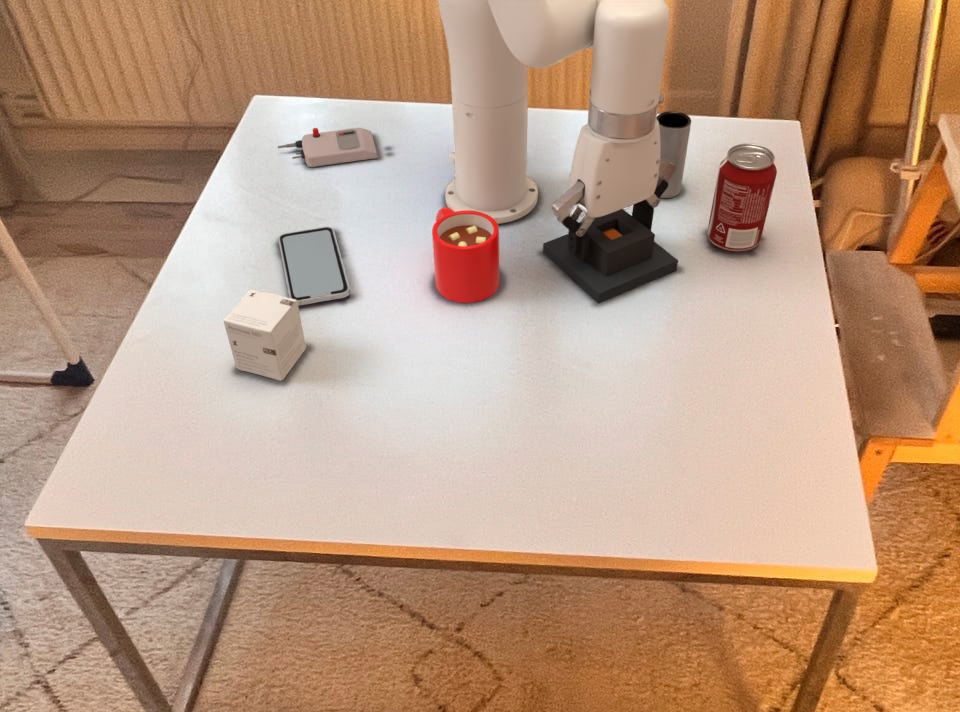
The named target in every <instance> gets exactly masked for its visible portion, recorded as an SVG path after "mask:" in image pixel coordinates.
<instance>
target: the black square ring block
mask: <svg viewBox="0 0 960 712" xmlns="http://www.w3.org/2000/svg"><path fill="white" fill-rule="evenodd" d="M578 222H579V221H578ZM580 222H581V221H580ZM580 222H579V223H580ZM612 228H614V229H615V230H616V231H618V232H619V233H620V234H621V235H623V236H621V237H618V238H616V239H613V240H611V239H610V238H609V237H607V236H606V235H605V234H604V233H602V232H604V231H607V230H609V229H612ZM586 232H587V233H588V234H589V247H588V259H587V261H589V262H590V263H591V264H592V265H593V266H594V267H595V268H597V269H598V270H599V271H600V272H601V273H602V274H604V275H605V276H606V277H607V276H609V275H612V274H614V273H616V272H619V271H621V270H624V269H626V268H628V267H631V266H633V265H636V264H638V263H640V262H642V261H645V260H647V259H650V258H652V252H653V245H654V242H655V238H656V237H655V236H656V235H655V233H654V232H653V231H652V230H651V231H650V230H649V229H648V228H646V227H645V226H644V225H643V224H641V223H640V222H639V221H637V220H636V219H635V218H634V217H632V214H630V213H629V212H627V211H626V210H625V209H624V208H623V209H620V210H618V211H615V212H613V213H610V214H607V215H604V216H601V217H597V218H595V219H594V220H593V222H592V223H591V225H590V226H589V228H588V229H587V231H586Z"/></svg>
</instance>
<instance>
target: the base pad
mask: <svg viewBox="0 0 960 712" xmlns="http://www.w3.org/2000/svg"><path fill="white" fill-rule="evenodd" d="M602 233H604V234H605V235H606V236H607V237H609V238H610V239H611V240H613V239H616V238H618V237H621V236H623V235H621V234H620V233H619V232H618V231H616V230H615V229H614V228H612V229H609V230H607V231H604V232H602ZM542 254H543V255H544V256H545V257H546V258H547V259H548V260H550V261H551V262H552V263H553V264H554V265H555V266H556V267H558V269H560V271H562V272H563V273H564V274H565V275H566V276H567V277H568V278H569V279H571V280H572V281H573V282H574V283H575V285H577V286H579V287H580V289H582V290H583V291H584V292H585V293H586V294H587V295H589V297H590V298H591V299H593V300H594V301H595V302H596V303H597V304H601V303H602V302H604V301H607V300H610V299H612V298H614V297H616V296H619V295H622V294H623V293H626V292H628V291H631V290H633V289H635V288H637V287H640V286H642V285H645V284H647V283H649V282H652V281H654V280H656V279H659V278H661V277H664V276H666V275H669V274H670V273H673V272H675V271H677V270H678V265H679V260H678V259H677V258H676V257H675V256H674V255H672V254H671V253H670V252H668V251H667V250H666V249H665V248H664V247H662V246H661V245H660V244H659V243H657V242H656V241H654V245H653V252H652V258H650V259H647V260H645V261H642V262H640V263H638V264H636V265H633V266H631V267H628V268H626V269H624V270H621V271H619V272H616V273H614V274H612V275H609V276H607V277H606V276H605V275H604V274H602V273H601V272H600V271H599V270H598V269H597V268H595V267H594V266H593V265H592V264H591V263H590V262H589V261H586V262H584V263H581V262H580V261H579V260H578V259H577V258H576V257H575V256H573V255H572V254H571V253H570V252H569V250H568V233H566V234H563V235H562V236H558V237H556V238H554V239H553V238H552V239H550V240H549V241H546V242H543V243H542Z"/></svg>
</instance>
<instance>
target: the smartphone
mask: <svg viewBox="0 0 960 712" xmlns="http://www.w3.org/2000/svg"><path fill="white" fill-rule="evenodd" d="M277 241H278V246H279V250H280V255H281V260H282V266H283V270H284V276H285V278H284V279H285V284H286V287H287V292H288V296H289V297H288V298H291V299H295V300H297V302H298V306H304V305H311V304H316V303H322V302H326V301H332V300H339V299H344V298H347V297H348V296H350V294H351V288H350V283H349V281H348V275H347V272H346V269H345V265H344V262H343V258H342V255H341V251H340V247H339V244H338V240H337V236H336V233H335V230H334V228H333V227H331V226H322V227H316V228H315V227H314V228H310V229H303V230H297V231H291V232H284V233H282V234H280V235H279V236H278V238H277Z"/></svg>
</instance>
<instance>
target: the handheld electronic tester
mask: <svg viewBox="0 0 960 712" xmlns="http://www.w3.org/2000/svg"><path fill="white" fill-rule="evenodd" d="M384 141H385V143H386V140H384ZM277 148H278V149H283V148H284V149H285V148H287V149H288V148H289V149H290V148H297V149H302V150H300V151H298V152H295V155H296V156H292V157H291V158H292V160H295V159H304V161H305V163H306V165H307V167H310V168H315V167H322V166H328V165H336V164H337V165H338V164H343V163H350V162H351V163H352V162H357V161H365V160H372V159H378V152H377V148H376V144H375V140H374V137H373V134H372V131H371V130H369V129H366V128H363V127H353V128H351V127H350V128H345V129H337V130H330V131H323V132H319V128H318V127H313V128H312V133H308V134H304V135H302V137H301V139H299V140H296V141H295V142H294V143H286V144H282V145H278V146H277Z"/></svg>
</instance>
